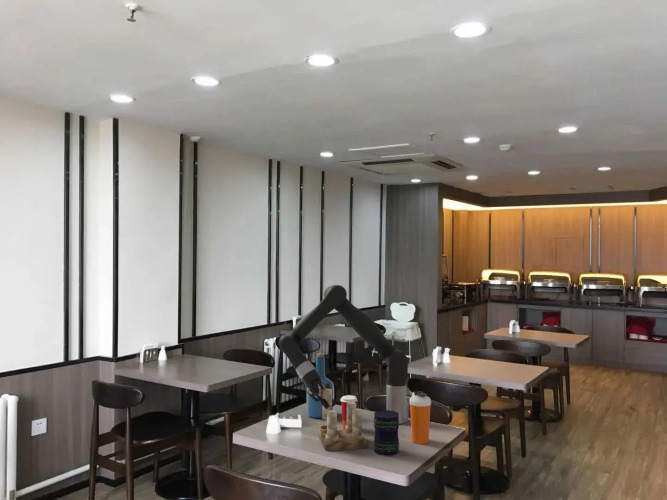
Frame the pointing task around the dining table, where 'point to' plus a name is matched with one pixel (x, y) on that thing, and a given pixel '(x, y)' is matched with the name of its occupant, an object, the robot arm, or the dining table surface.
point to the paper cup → (344, 402)
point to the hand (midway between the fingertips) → (331, 406)
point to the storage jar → (386, 432)
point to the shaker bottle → (420, 417)
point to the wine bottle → (316, 407)
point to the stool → (343, 431)
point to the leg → (328, 397)
